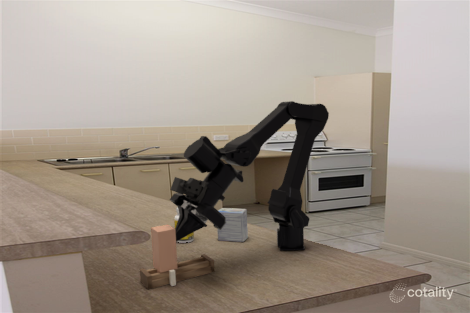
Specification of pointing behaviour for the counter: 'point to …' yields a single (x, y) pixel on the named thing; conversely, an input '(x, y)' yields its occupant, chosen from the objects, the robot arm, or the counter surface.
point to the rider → (164, 248)
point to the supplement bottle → (188, 237)
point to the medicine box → (234, 225)
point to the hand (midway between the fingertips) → (173, 240)
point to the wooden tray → (178, 272)
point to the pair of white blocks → (172, 277)
